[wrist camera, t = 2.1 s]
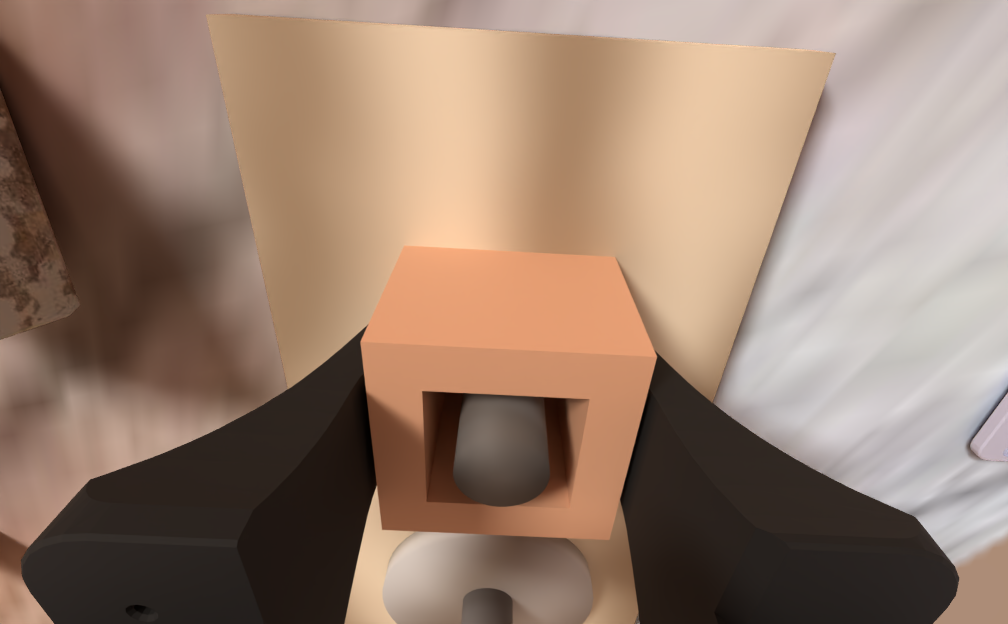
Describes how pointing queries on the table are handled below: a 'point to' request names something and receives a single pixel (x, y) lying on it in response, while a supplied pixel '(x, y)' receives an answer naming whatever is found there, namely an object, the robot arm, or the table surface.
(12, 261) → the caster wheel
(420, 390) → the collar
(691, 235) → the board
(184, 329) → the table surface
